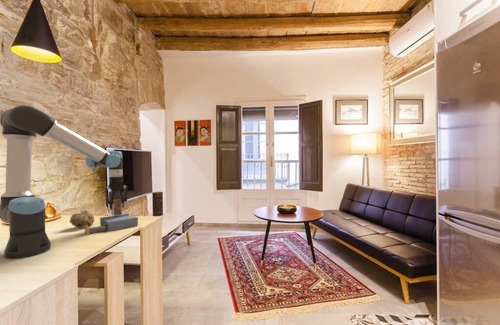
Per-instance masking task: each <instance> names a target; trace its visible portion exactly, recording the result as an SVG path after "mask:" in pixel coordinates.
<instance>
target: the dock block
mask: <svg viewBox="0 0 500 325" xmlns="http://www.w3.org/2000/svg"><path fill="white" fill-rule="evenodd" d="M99 221H100V222H99V223H100V226H104V225H107V226H108V230H107V232H111V231H116V230H122V229H127V228H132V227H133V228H134V227H138V226H139V218H138V217H137V216H135V215H133V214H129V213H123V214H121V215H115V216H114V215H109V216H102V217H100V218H99ZM137 225H138V226H137Z"/></svg>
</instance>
